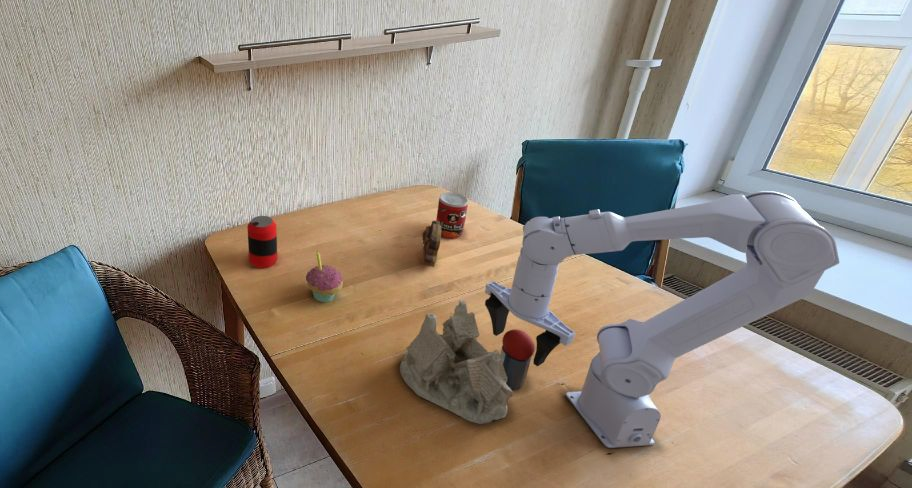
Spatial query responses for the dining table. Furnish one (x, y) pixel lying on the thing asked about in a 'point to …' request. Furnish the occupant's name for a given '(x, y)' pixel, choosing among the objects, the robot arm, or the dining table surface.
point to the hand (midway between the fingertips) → (517, 347)
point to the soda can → (262, 242)
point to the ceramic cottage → (457, 369)
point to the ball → (518, 344)
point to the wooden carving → (431, 243)
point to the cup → (514, 369)
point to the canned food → (452, 214)
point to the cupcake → (324, 281)
